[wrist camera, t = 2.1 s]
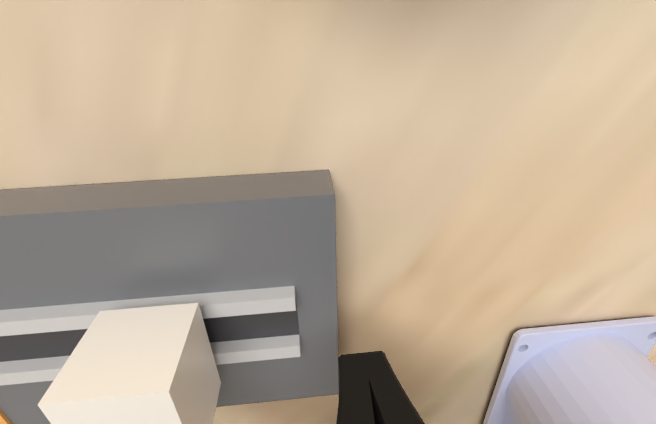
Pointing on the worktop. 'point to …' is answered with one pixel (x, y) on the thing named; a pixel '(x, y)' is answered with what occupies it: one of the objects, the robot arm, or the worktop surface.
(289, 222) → the fader console
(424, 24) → the worktop surface
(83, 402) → the fader tab
